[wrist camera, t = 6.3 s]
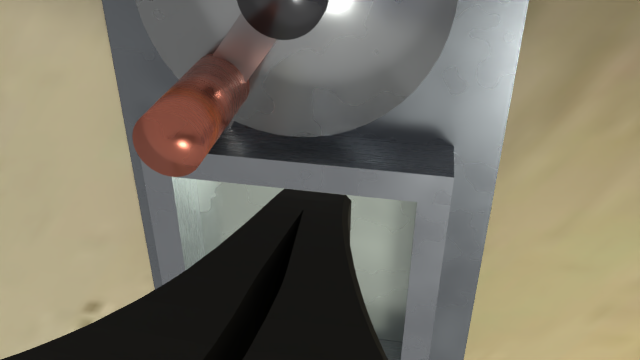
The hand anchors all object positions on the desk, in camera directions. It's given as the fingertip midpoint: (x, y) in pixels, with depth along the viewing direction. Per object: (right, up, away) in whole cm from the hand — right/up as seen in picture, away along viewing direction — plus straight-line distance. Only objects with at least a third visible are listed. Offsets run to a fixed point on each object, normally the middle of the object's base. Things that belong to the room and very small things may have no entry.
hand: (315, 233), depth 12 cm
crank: (-1, +7, +6) cm, 9 cm away
